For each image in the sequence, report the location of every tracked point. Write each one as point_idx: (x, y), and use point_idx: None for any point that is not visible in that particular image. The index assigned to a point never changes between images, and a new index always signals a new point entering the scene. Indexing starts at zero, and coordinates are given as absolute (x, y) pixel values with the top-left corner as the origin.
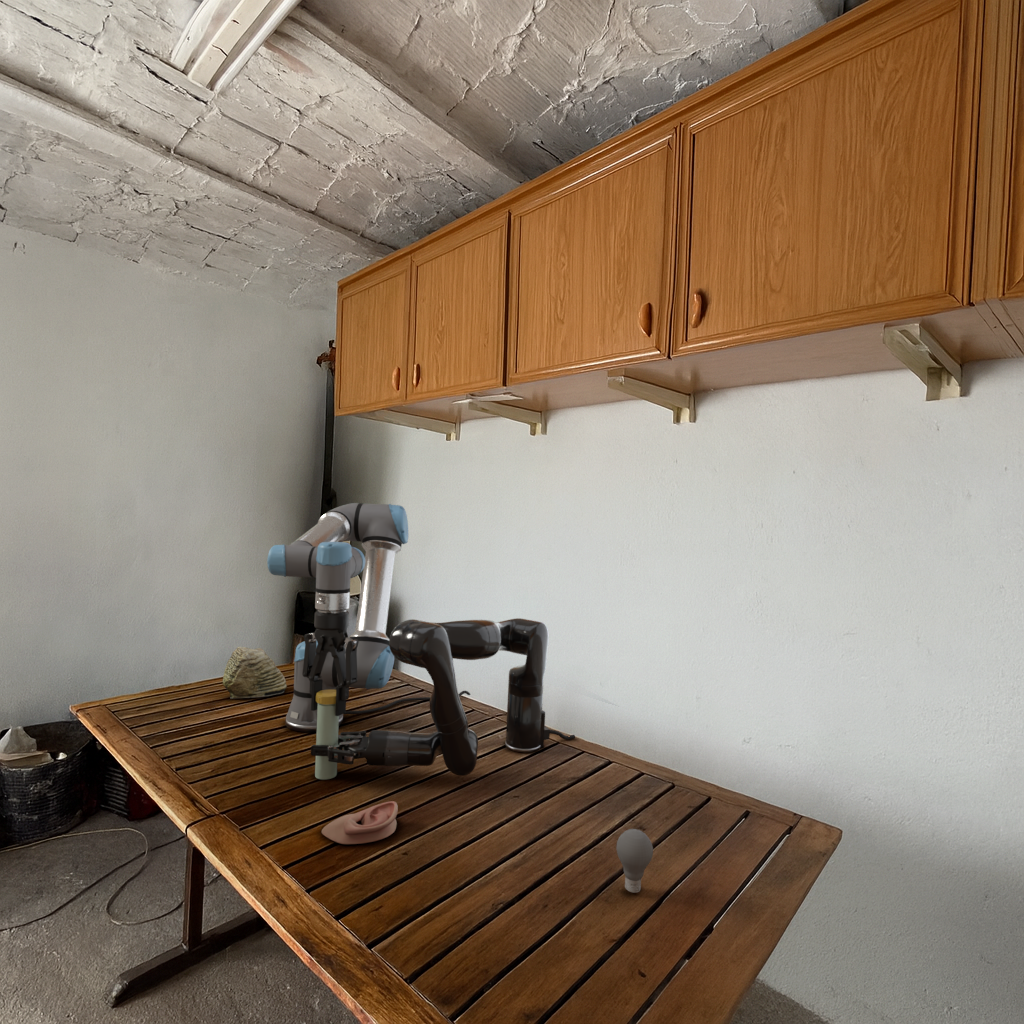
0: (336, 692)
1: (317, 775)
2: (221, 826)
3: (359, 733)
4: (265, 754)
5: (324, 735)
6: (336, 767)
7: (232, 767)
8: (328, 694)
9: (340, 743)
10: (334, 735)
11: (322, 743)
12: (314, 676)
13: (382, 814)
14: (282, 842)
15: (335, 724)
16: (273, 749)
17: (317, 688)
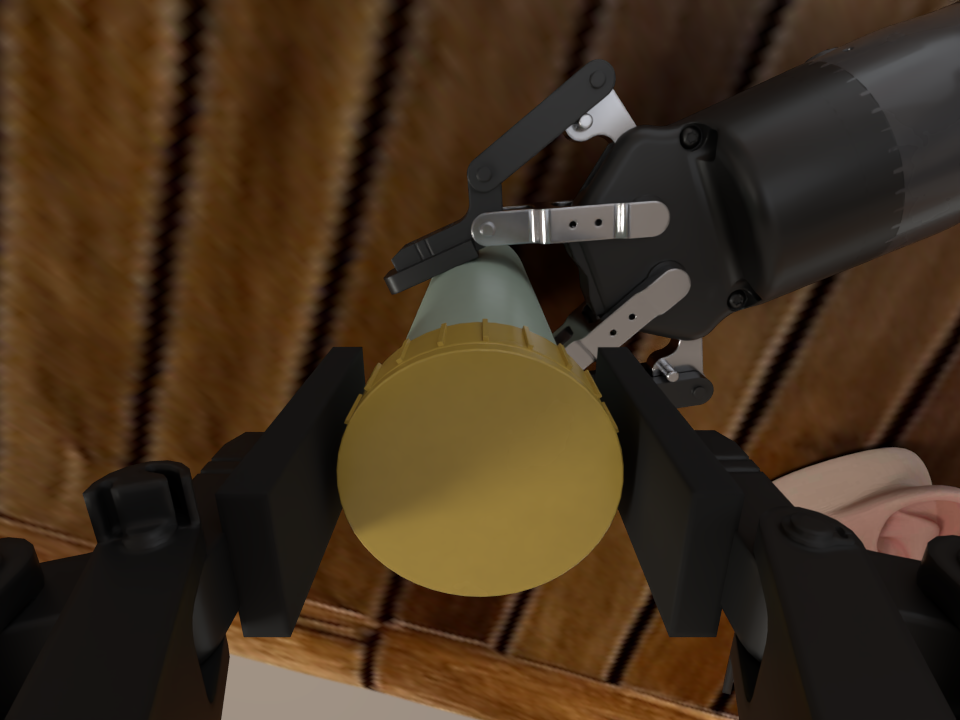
0: (649, 576)
1: None
2: (444, 660)
3: (586, 121)
4: (88, 240)
5: None
6: (525, 271)
7: (111, 402)
8: (509, 523)
9: (595, 350)
10: None
11: None
12: (217, 682)
13: (919, 533)
14: (645, 649)
15: None
16: (60, 174)
17: (315, 521)
